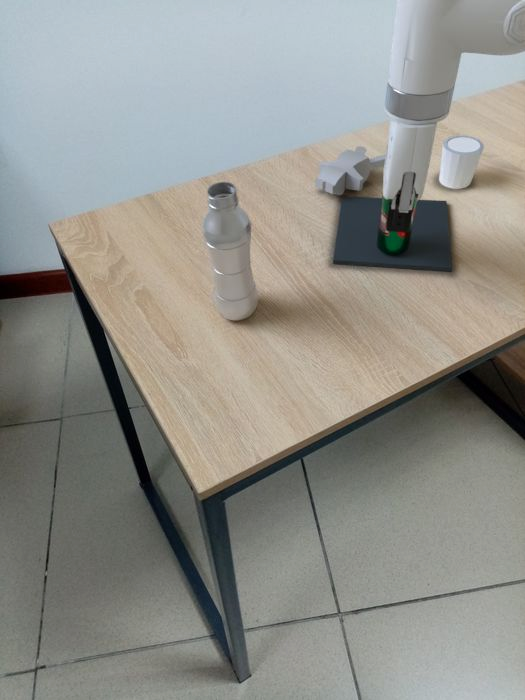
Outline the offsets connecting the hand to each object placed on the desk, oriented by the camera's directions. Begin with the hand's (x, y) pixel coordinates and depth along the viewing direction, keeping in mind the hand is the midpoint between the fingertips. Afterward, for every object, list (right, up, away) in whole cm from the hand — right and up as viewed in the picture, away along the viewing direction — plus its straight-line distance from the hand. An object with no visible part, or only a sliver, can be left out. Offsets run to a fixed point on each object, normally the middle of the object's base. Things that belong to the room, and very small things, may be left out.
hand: (397, 228), depth 76 cm
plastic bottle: (-23, -12, +3) cm, 26 cm away
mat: (+2, +2, +13) cm, 13 cm away
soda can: (+1, -1, +9) cm, 9 cm away
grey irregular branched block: (-3, +14, +23) cm, 27 cm away
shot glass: (+16, +14, +22) cm, 30 cm away
